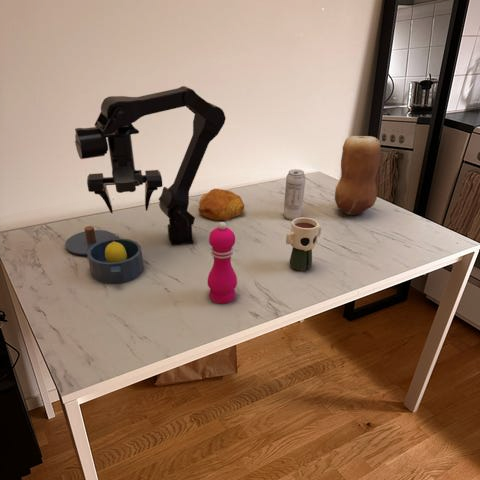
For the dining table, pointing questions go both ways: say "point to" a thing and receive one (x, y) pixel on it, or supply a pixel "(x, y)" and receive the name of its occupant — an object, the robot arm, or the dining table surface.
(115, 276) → the pot
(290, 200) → the energy drink can
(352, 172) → the butternut squash
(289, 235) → the character mug
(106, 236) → the pot lid
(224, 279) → the pepper mill
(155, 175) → the robot arm
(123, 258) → the lemon
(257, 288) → the dining table surface
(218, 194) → the croissant
